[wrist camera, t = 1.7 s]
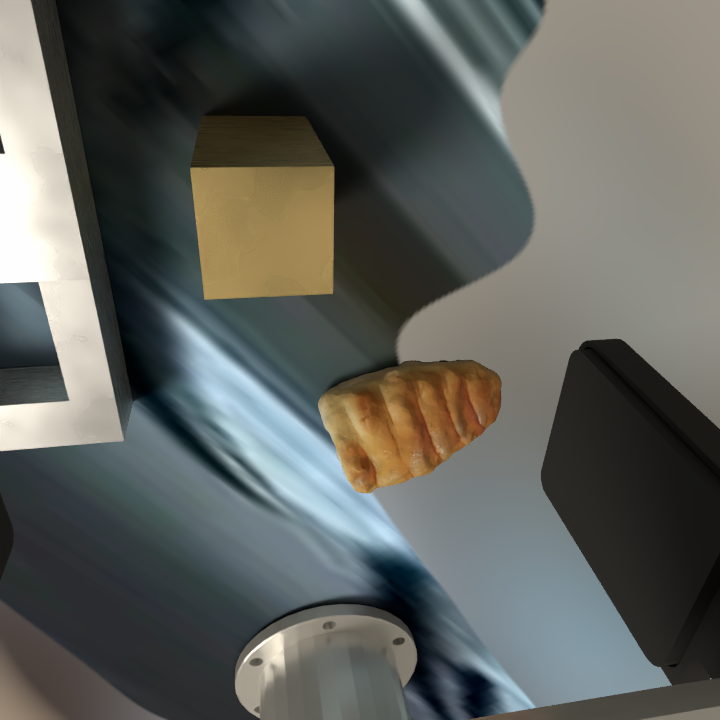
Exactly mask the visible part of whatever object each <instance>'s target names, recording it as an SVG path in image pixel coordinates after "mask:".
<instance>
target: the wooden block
mask: <svg viewBox="0 0 720 720" xmlns="http://www.w3.org/2000/svg"><path fill="white" fill-rule="evenodd" d="M190 169H191V179H192V188H193V197H194V206H195V215H196V225H197V234H198V243H199V252H200V262H201V271H202V280H203V289H204V299H226V298H248V297H270V296H292V295H314V294H333V234H334V165H333V163H332V161H331V160H330V158H329V156H328V154H327V153H326V151H325V149H324V147H323V146H322V144H321V142H320V141H319V139H318V137H317V135H316V134H315V132H314V130H313V128H312V127H311V125H310V123H309V121H308V120H307V118H306V116H202V117H201V122H200V126H199V131H198V135H197V140H196V144H195V149H194V154H193V158H192V163H191V167H190Z"/></svg>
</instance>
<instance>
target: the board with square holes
mask: <svg viewBox="0 0 720 720" xmlns="http://www.w3.org/2000/svg"><path fill="white" fill-rule="evenodd" d="M15 282H39V286H40V290H41V293H42V297H43V301H44V305H45V309H46V313H47V317H48V320H49V324H50V328H51V332H52V336H53V340H54V344H55V347H56V351H57V355H58V359H59V363H60V365H53V366H37V367H21V368H4V369H0V451H5V450H18V449H30V448H42V447H54V446H66V445H78V444H91V443H103V442H115V441H124V438H125V434H126V430H127V425H128V421H129V417H130V413H131V408H132V404H133V399H132V394H131V389H130V384H129V378H128V373H127V368H126V363H125V358H124V353H123V347H122V342H121V337H120V332H119V327H118V322H117V316H116V311H115V306H114V301H113V296H112V291H111V285H110V280H109V275H108V270H107V265H106V260H105V255H104V249H103V244H102V239H101V234H100V229H99V224H98V218H97V213H96V208H95V203H94V198H93V193H92V187H91V182H90V177H89V172H88V167H87V162H86V156H85V151H84V146H83V141H82V136H81V131H80V125H79V120H78V115H77V110H76V105H75V100H74V94H73V89H72V84H71V79H70V74H69V69H68V64H67V58H66V53H65V48H64V43H63V38H62V33H61V27H60V22H59V17H58V12H57V7H56V2H55V0H0V283H15Z"/></svg>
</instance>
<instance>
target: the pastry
mask: <svg viewBox="0 0 720 720" xmlns="http://www.w3.org/2000/svg"><path fill="white" fill-rule="evenodd" d="M500 388H501V380H500V377H499V376H498V374H497V373H495V372H494V371H492V370H490V369H488V368H486V367H485V366H483V365H481V364H479V363H477V362H475V361H473V360H456V361H446V360H440V361H439V362H420V361H405V362H403V363H401V364H400V365H399V366H396V367H390V368H386V369H383V370H380V371H377V372H373V373H368V374H364V375H361V376H359V377H355V378H353V379H351V380H348V381H345V382H342V383H340V384H339V385H337V386H335V387H333V388H330V389H329V390H328V391H327V392H325V393H324V394H322V396H321V397H320V400H319V403H318V407H319V411H320V413H321V417H322V420H323V423H324V426H325V428H326V430H327V431H328V432H329V433H330V435H331V438H332V440H333V442H334V444H335V446H336V449H337V456H338V459H339V461H340V463H341V465H342V468H343V471H344V473H345V475H346V477H347V479H348V481H349V482H350V483H351V485H352V487H353V488H354V489H355V490H356V491H357V492H360V493H371V492H372V491H373V490H374V489H376V488H379V487H384V486H390V485H394V484H398V483H402V482H405V481H407V480H409V479H410V478H413V477H417V476H423V475H426V474H429V473H430V472H432V471H433V470H434V469H435V467H437V466H438V465H439V464H441V463H442V462H444V461H446V460H447V459H449V457H450V456H451V455H452V454H453V453H454V452H456V451H458V450H460V449H461V448H463V447H464V446H466V445H468V444H469V443H471V442H472V441H473V440H474V439H475V438H476V437H478V436H479V435H481V434H482V433H483V432H484V430H485V429H486V428H487V427H488V426H489V425H490V424H492V423H493V422H495V420H496V418H497V415H498V413H499V410H500V406H501V389H500Z"/></svg>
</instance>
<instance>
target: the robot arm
mask: <svg viewBox="0 0 720 720" xmlns="http://www.w3.org/2000/svg"><path fill="white" fill-rule="evenodd" d="M541 481H542V486H543V489H544V491H545V493H546V495H547V497H548V498H549V500H550V501H551V503H552V505H553V506H554V508H555V510H556V511H557V513H558V515H559V516H560V518H561V519H562V521H563V523H564V524H565V526H566V528H567V529H568V531H569V532H570V534H571V536H572V537H573V539H574V541H575V542H576V544H577V545H578V547H579V549H580V550H581V552H582V554H583V555H584V557H585V559H586V560H587V562H588V563H589V565H590V567H591V568H592V570H593V572H594V573H595V575H596V576H597V578H598V580H599V581H600V582H601V585H602V586H603V588H604V589H605V591H606V593H607V594H608V596H609V597H610V599H611V601H612V603H613V604H614V606H615V607H616V609H617V611H618V612H619V614H620V615H621V617H622V619H623V620H624V622H625V624H626V625H627V627H628V628H629V630H630V632H631V633H632V635H633V637H634V638H635V640H636V641H637V643H638V645H639V647H640V648H641V650H642V651H643V653H644V654H645V656H646V658H647V659H648V660H649V661H650V662H651V663H652V664H653V665H655V666H657V667H661V668H662V670H663V671H664V673H665V675H666V676H667V678H668V679H669V681H670V683H671V684H672V686H666V687H660V688H654V689H649V690H642V691H636V692H631V693H624V694H618V695H612V696H606V697H600V698H594V699H588V700H582V701H576V702H570V703H564V704H558V705H552V706H546V707H540V708H534V709H528V710H522V711H516V712H510V713H504V714H498V715H492V716H486V717H480V718H475V719H469V720H720V429H719V428H718V427H717V426H716V425H715V424H714V423H712V422H711V421H710V420H709V419H708V418H707V417H706V416H705V415H704V414H703V413H702V412H701V411H699V410H698V409H697V408H696V407H695V406H694V405H693V404H692V403H691V402H690V401H689V400H687V399H686V398H685V397H684V396H683V395H682V394H681V393H680V392H678V390H677V389H675V388H674V387H673V386H672V385H671V384H670V383H669V382H668V381H667V380H666V379H665V378H664V377H662V376H661V375H660V374H659V373H658V372H657V371H656V370H655V369H654V368H653V367H651V366H650V365H649V364H648V363H647V362H646V361H645V360H644V359H643V358H642V357H641V356H640V355H638V354H637V353H636V352H635V351H634V350H633V349H632V348H631V347H630V346H629V345H628V344H627V343H625V342H624V341H622V340H621V339H606V340H591V341H585V342H583V343H582V345H581V346H580V347H579V350H575V351H573V353H572V354H571V356H570V358H569V362H568V366H567V370H566V374H565V378H564V382H563V386H562V390H561V394H560V398H559V402H558V406H557V410H556V414H555V418H554V422H553V426H552V430H551V434H550V438H549V442H548V446H547V450H546V454H545V458H544V462H543V466H542V470H541ZM12 546H13V527H12V524H11V521H10V518H9V516H8V513H7V510H6V508H5V505H4V502H3V499H2V497H1V494H0V579H1V576H2V574H3V571H4V569H5V566H6V563H7V561H8V558H9V555H10V553H11V550H12ZM416 663H417V650H416V646H415V643H414V639H413V636H412V634H411V632H410V630H409V628H408V627H407V626H406V625H405V624H404V623H403V622H402V621H401V620H400V619H399V618H397V617H396V616H394V615H392V614H391V613H389V612H386V611H384V610H381V609H378V608H375V607H370V606H364V605H358V604H335V605H325V606H319V607H315V608H311V609H306V610H303V611H300V612H297V613H294V614H292V615H289V616H287V617H285V618H283V619H281V620H279V621H277V622H275V623H273V624H271V625H270V626H268V627H267V628H265V629H264V630H263V631H261V632H260V633H258V634H257V635H256V636H255V637H254V638H253V639H252V640H251V641H250V642H249V643H248V644H247V645H246V647H245V648H244V650H243V651H242V653H241V654H240V656H239V659H238V661H237V664H236V669H235V688H236V694H237V696H238V698H239V700H240V702H241V704H242V705H243V706H244V707H245V708H246V709H247V710H248V711H249V712H251V713H252V714H254V715H255V716H257V717H258V718H260V720H411V719H410V715H409V711H408V707H407V703H406V699H405V695H404V691H403V687H404V686H405V685H406V684H407V683H408V681H409V679H410V678H411V676H412V674H413V672H414V670H415V666H416ZM710 678H712V679H711V680H710Z"/></svg>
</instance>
